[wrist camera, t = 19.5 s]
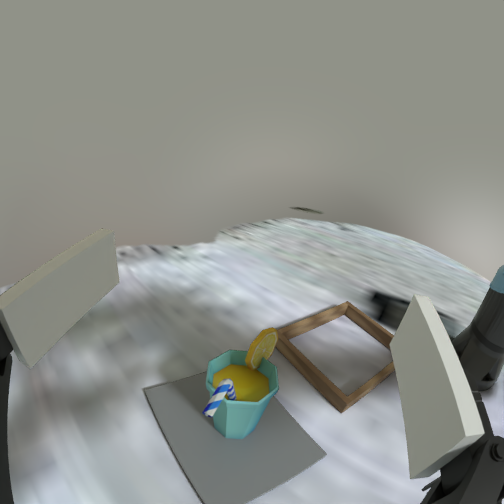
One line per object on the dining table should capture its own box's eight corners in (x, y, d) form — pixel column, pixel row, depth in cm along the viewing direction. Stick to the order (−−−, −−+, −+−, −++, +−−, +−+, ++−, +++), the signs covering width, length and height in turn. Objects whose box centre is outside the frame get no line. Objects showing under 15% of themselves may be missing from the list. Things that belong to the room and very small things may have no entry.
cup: (237, 482, 23) (256, 430, 17) (177, 455, 25) (161, 387, 19) (277, 400, 35) (304, 321, 29) (226, 381, 37) (236, 298, 31)
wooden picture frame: (344, 310, 58) (347, 301, 57) (406, 358, 45) (412, 349, 44) (270, 341, 47) (273, 331, 46) (341, 413, 34) (347, 404, 33)
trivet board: (242, 362, 42) (242, 358, 42) (324, 456, 28) (327, 454, 27) (145, 393, 34) (144, 389, 33) (213, 517, 19) (213, 516, 19)
